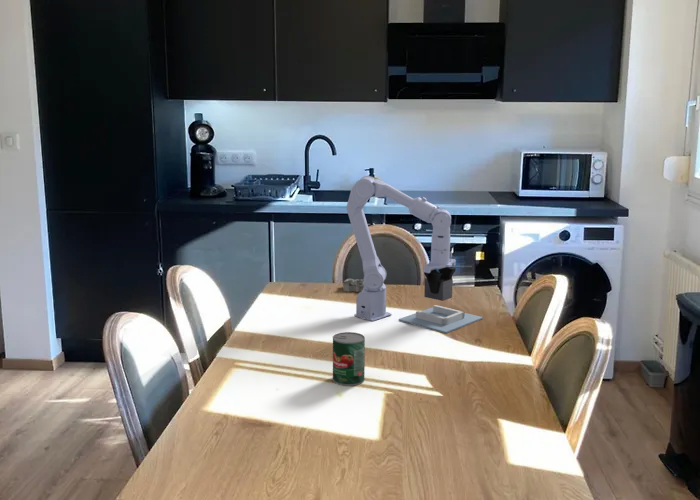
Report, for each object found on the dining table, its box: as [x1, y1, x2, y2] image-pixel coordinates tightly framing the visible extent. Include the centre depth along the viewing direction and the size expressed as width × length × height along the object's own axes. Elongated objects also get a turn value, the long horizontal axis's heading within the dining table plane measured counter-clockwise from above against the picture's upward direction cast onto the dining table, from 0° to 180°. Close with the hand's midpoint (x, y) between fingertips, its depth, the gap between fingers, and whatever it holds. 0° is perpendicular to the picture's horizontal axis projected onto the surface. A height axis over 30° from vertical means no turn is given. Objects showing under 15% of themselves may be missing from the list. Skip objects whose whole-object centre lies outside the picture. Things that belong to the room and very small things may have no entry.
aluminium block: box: [423, 277, 453, 302], centre depth 225 cm, size 5×7×6 cm
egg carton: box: [342, 278, 364, 293], centre depth 261 cm, size 11×8×4 cm
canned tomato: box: [332, 331, 366, 387], centre depth 177 cm, size 8×8×11 cm
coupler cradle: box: [398, 304, 484, 334], centre depth 226 cm, size 20×18×2 cm
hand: (439, 291), depth 225 cm, fingers closed on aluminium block, 5 cm apart
